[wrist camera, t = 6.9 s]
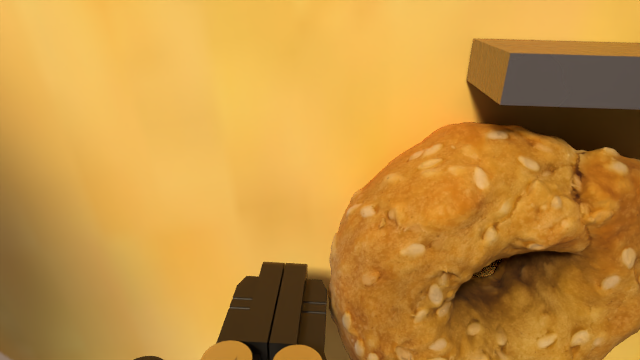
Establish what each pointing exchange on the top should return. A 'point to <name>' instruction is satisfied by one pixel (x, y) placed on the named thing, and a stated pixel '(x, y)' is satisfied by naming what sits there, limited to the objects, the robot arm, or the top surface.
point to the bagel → (490, 251)
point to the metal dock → (557, 73)
